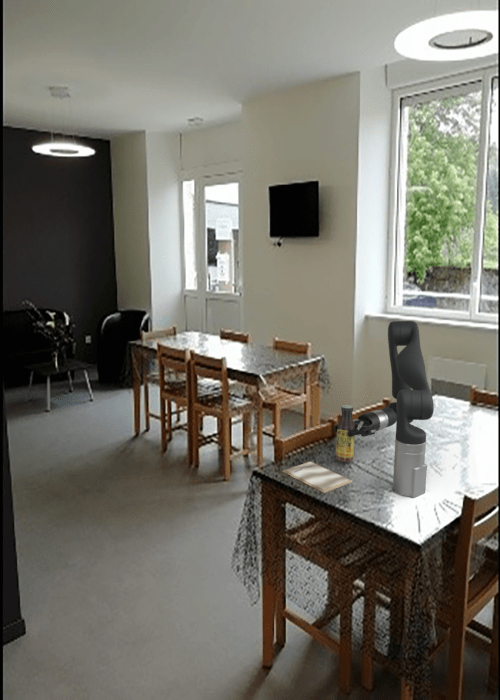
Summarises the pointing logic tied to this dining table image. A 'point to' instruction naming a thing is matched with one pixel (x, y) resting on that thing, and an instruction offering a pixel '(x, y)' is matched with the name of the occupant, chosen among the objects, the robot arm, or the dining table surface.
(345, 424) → the sauce bottle
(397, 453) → the robot arm
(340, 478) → the notepad
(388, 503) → the dining table surface
